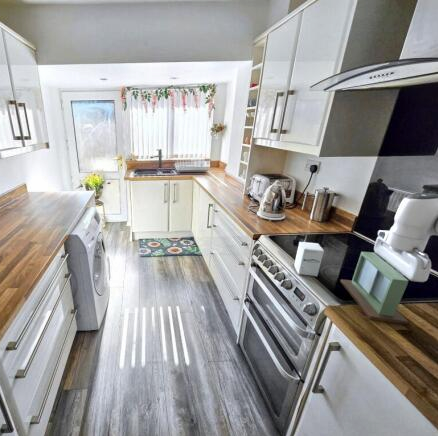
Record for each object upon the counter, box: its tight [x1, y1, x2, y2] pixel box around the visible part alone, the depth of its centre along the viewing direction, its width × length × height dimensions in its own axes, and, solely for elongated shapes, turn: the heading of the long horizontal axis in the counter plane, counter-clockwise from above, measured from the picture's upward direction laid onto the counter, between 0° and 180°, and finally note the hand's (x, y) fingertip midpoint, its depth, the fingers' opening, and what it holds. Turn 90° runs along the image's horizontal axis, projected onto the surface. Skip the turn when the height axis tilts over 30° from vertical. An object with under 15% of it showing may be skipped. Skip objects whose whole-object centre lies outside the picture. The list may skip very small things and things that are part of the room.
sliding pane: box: [371, 271, 390, 303], centre depth 82 cm, size 5×8×11 cm, turn 165°
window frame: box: [339, 251, 409, 325], centre depth 84 cm, size 10×21×15 cm, turn 165°
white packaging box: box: [293, 241, 325, 277], centre depth 103 cm, size 7×7×13 cm
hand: (391, 277), depth 83 cm, fingers closed on sliding pane
